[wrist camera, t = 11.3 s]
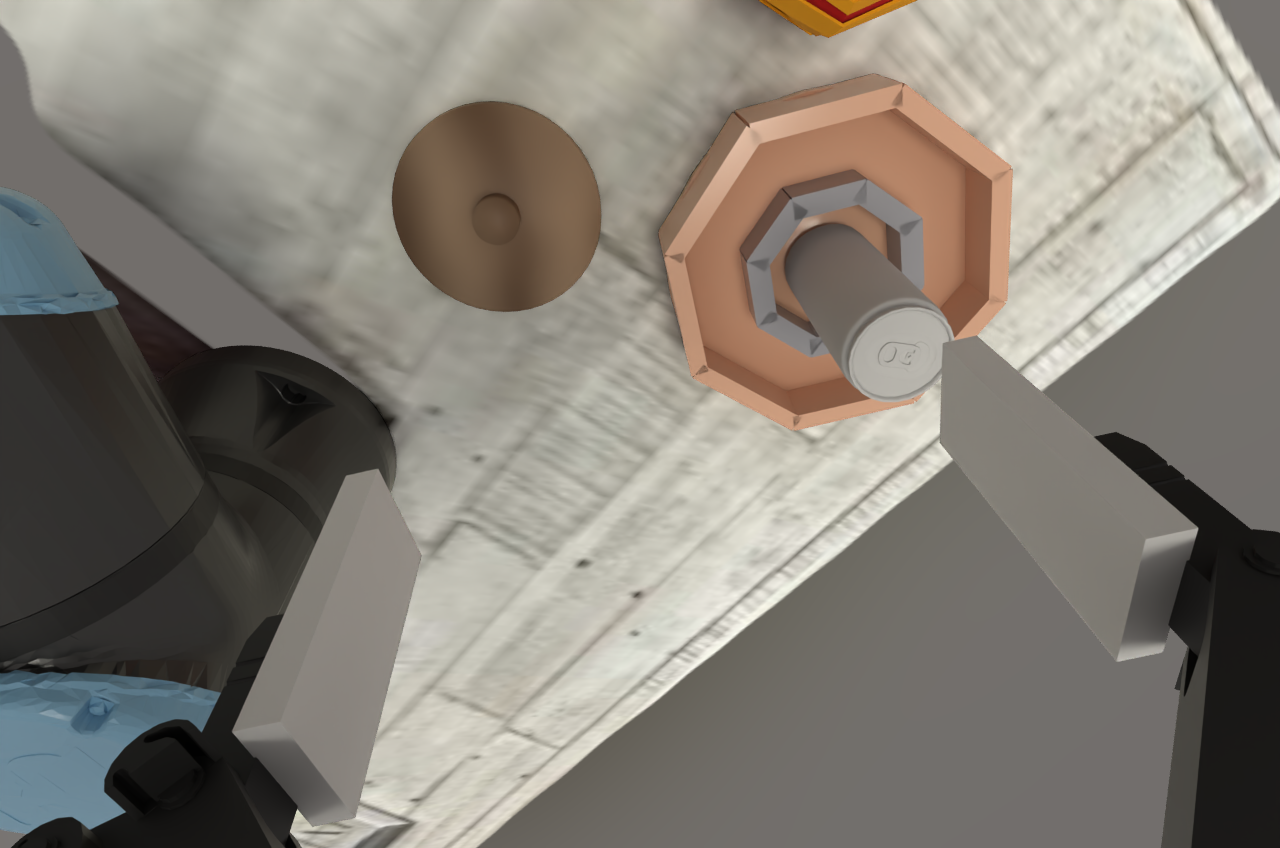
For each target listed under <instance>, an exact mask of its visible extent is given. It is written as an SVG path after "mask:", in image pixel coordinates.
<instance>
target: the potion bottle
mask: <svg viewBox="0 0 1280 848" xmlns="http://www.w3.org/2000/svg"><path fill="white" fill-rule="evenodd" d="M758 1H760V2H761V3H763V4H764V5H766V6H767V7H769V8H770V9H772V10H773V11H775V12H776V13H778V14H779V15H781V16H782V17H784V18H785V19H787V20H788V21H790V22H791V23H793V24H794V25H796V26H797V27H799V28H800V29H802V30H803V31H805V32H806V33H808V34H809V35H812V34H813V35H815V36H819V35H822V36H825V37H828V38H829V37H831V36H834V35H836V34H838V33H841V32H843V31H846V30H848V29H850V28H853V27H855V26H857V25H860V24H862V23H865V22H867V21H869V20H872V19H874V18H877V17H879V16H881V15H884V14H886V13H888V12H891V11H893V10H896V9H898V8H900V7H903V6H905V5H907V4H910V3H912V2H915V1H917V0H758Z"/></svg>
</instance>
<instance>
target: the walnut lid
mask: <svg viewBox="0 0 1280 848" xmlns="http://www.w3.org/2000/svg"><path fill="white" fill-rule="evenodd" d="M392 207H393V216H394V221H395V225H396V229H397V232H398V235H399V238H400V240H401V243H402V245H403V247H404V249H405V251H406V253H407V254H408V256H409V257H410V259H411V260H412V262H413V263H414V265H415V266H416V267H417V268H418V270H419V271H420V272H421V273H422V274H423V276H425V277H426V278H427V279H428V280H429V281H430V282H431V283H432V284H433V285H434V286H436V287H437V288H438V289H440V290H441V291H442V292H444V293H445V294H447V295H449V296H450V297H452V298H454V299H456V300H458V301H460V302H462V303H465V304H467V305H470V306H473V307H476V308H480V309H485V310H490V311H501V312H510V311H521V310H527V309H531V308H534V307H538V306H541V305H543V304H545V303H548V302H550V301H552V300H554V299H555V298H557V297H559V296H560V295H562V294H563V293H564V292H566V291H567V290H568V289H569V288H570V287H572V286H573V285H574V284H575V282H576V281H577V280H578V279H579V278H580V277H581V276H582V274H583V273H584V271H585V270H586V268H587V267H588V265H589V263H590V261H591V259H592V257H593V255H594V252H595V250H596V247H597V244H598V239H599V234H600V227H601V206H600V196H599V191H598V186H597V183H596V180H595V177H594V174H593V171H592V169H591V167H590V165H589V163H588V161H587V159H586V157H585V156H584V154H583V153H582V151H581V150H580V148H579V147H578V146H577V144H576V143H575V142H574V141H573V140H572V138H571V137H570V136H569V135H568V134H567V133H566V132H565V131H563V130H562V129H561V128H560V127H559V126H558V125H556V124H555V123H553V122H552V121H551V120H549V119H548V118H546V117H544V116H542V115H541V114H539V113H537V112H535V111H533V110H530V109H527V108H525V107H522V106H519V105H514V104H510V103H505V102H494V101H489V102H475V103H470V104H465V105H462V106H459V107H456V108H453V109H451V110H449V111H447V112H445V113H443V114H441V115H439V116H438V117H436V118H435V119H434V120H432V121H431V122H430V123H428V124H427V125H426V126H425V127H424V128H423V129H422V130H421V131H420V132H419V133H418V134H417V135H416V136H415V137H414V138H413V140H412V141H411V142H410V144H409V145H408V146H407V148H406V150H405V151H404V153H403V155H402V157H401V159H400V161H399V164H398V167H397V170H396V173H395V178H394V183H393V191H392Z"/></svg>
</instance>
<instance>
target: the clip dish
mask: <svg viewBox="0 0 1280 848" xmlns="http://www.w3.org/2000/svg"><path fill="white" fill-rule="evenodd" d="M1011 167H1012V166H1010V165H1009V164H1008V163H1007V162H1005V161H1004V160H1003V159H1001V158H1000V157H999V156H998V155H996V154H995V153H994V152H992V151H991V150H990V149H989V148H987V147H986V146H985V145H983V144H982V143H981V142H979V141H978V140H977V139H976V138H974V137H973V136H972V135H970V134H969V133H968V132H967V131H965V130H964V129H963V128H961V127H960V126H959V125H958V124H956V123H955V122H954V121H952V120H951V119H950V118H949V117H947V116H946V115H945V114H943V113H942V112H941V111H940V110H938V109H937V108H936V107H934V106H933V105H932V104H931V103H929V102H928V101H927V100H925V99H924V98H923V97H922V96H920V95H919V94H918V93H916V92H915V91H914V90H913V89H911V88H910V87H909V86H907V85H906V84H904V83H901V82H898V81H895V80H892V79H889V78H886V77H883V76H880V75H878V74H870V75H866V76H862V77H858V78H855V79H851V80H847V81H843V82H840V83H836V84H832V85H827V86H821V87H816V88H811V89H806V90H802V91H799V92H796V93H793V94H790V95H787V96H784V97H781V98H779V99H776V100H772V101H768V102H764V103H761V104H757V105H753V106H749V107H746V108H742V109H738V110H735V114H734V113H733V112H732V114H731V115H730V117H729V119H728V120H727V122H726V123H725V125H724V127H723V128H722V130H721V131H720V133H719V135H718V136H717V138H716V139H715V141H714V143H713V144H712V146H711V147H710V149H709V151H708V152H707V153H706V155H705V156H704V157H703V159H702V160H701V162H700V163H699V164H698V166H697V167H696V169H695V170H694V171H693V173H692V175H691V177H690V178H689V180H688V182H687V184H686V186H685V188H684V189H683V191H682V193H681V196H680V197H679V199H678V200H677V202H676V204H675V205H674V207H673V208H672V210H671V212H670V213H669V215H668V216H667V218H666V220H665V221H664V223H663V224H662V226H661V228H660V229H659V233H658V236H659V240H660V244H661V249H662V253H663V258H664V262H665V266H666V271H667V278H668V285H669V291H670V295H671V299H672V303H673V306H674V309H675V312H676V316H677V319H678V323H679V327H680V332H681V336H682V340H683V345H684V349H685V353H686V357H687V361H688V365H689V369H690V373H691V376H693V378H694V379H696V380H697V381H699V382H701V383H703V384H705V385H707V386H709V387H711V388H713V389H714V390H716V391H718V392H720V393H722V394H724V395H726V396H728V397H730V398H731V399H733V400H735V401H737V402H739V403H741V404H743V405H745V406H747V407H749V408H750V409H752V410H754V411H756V412H758V413H760V414H762V415H764V416H766V417H767V418H769V419H771V420H773V421H775V422H777V423H779V424H781V425H783V426H785V427H786V428H788V429H790V430H793V429H794V431H795V430H800V429H804V428H808V427H813V426H817V425H821V424H826V423H830V422H834V421H839V420H843V419H847V418H852V417H856V416H860V415H865V414H869V413H873V412H878V411H882V410H886V409H891V408H895V407H899V406H904V405H908V404H912V403H914V401H916V402H917V401H918V399H919V398H920V397H921V396H922V395H923V394H924V393H925V392H924V393H923V394H921V395H918V396H916V397H914V398H912V399H909V400H904V401H900V402H881V401H877V400H873V399H871V398H869V397H867V396H865V395H864V394H862V393H861V392H860V391H859V390H858V389H856V388H854V386H853V385H852V384H851V383H850V382H849V381H848V380H847V379H846V377H845V376H844V374H843V373H842V371H841V370H840V368H839V366H838V365H837V363H836V362H835V360H834V359H833V357H832V355H831V354H830V352H829V351H828V349H827V348H826V346H825V344H824V343H823V341H822V340H821V338H820V336H819V335H818V333H817V332H816V330H815V328H814V327H813V325H812V323H811V322H810V320H809V318H808V317H807V315H806V313H805V312H804V310H803V308H802V307H801V305H800V303H799V302H798V300H797V298H796V297H795V295H794V294H793V292H792V290H791V289H790V287H789V285H788V282H787V280H786V275H785V265H786V259H787V256H788V254H789V252H790V249H791V248H792V246H793V245H794V244H795V242H796V241H797V240H798V239H799V238H800V237H802V236H803V235H804V234H805V233H807V232H809V231H811V230H813V229H815V228H817V227H821V226H824V225H828V224H843V225H847V226H850V227H852V228H854V229H855V230H857V231H858V232H860V233H861V234H862V235H863V236H864V237H865V238H866V239H867V240H868V241H869V242H870V243H871V244H872V245H873V246H874V247H875V248H876V249H877V250H878V251H880V252H881V253H882V254H883V255H884V256H885V257H886V258H887V259H888V260H889V261H890V262H891V263H892V264H893V265H894V266H895V267H896V268H897V269H898V270H899V271H901V272H902V273H903V274H904V275H905V276H906V277H907V278H908V279H909V280H910V281H911V282H912V283H913V284H914V285H915V286H916V287H917V288H918V289H919V290H920V291H922V292H923V293H924V294H925V295H926V296H927V297H928V298H929V299H930V300H931V301H932V302H933V303H934V304H935V305H936V306H937V307H938V308H939V309H940V310H941V312H942V313H943V314H944V316H945V317H946V318H947V321H948V324H949V325H950V326H951V329H952V332H953V335H954V338H955V340H959V339H963V338H968V337H972V336H977V335H978V334H979V333H980V331H981V330H982V329H983V328H984V327H985V326H986V325H987V324H988V323H989V322H990V321H991V319H992V318H993V317H994V316H995V315H996V314H997V313H998V312H999V311H1000V310H1001V308H1002V307H1003V306H1004V305H1005V304H1006V303H1005V302H1004V301H1007V296H1008V272H1009V248H1010V224H1011V201H1012V177H1013V169H1011Z"/></svg>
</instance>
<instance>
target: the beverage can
mask: <svg viewBox="0 0 1280 848" xmlns="http://www.w3.org/2000/svg"><path fill="white" fill-rule="evenodd" d="M785 275H786V280H787V282H788V285H789V287H790V289H791V290H792V292H793V294H794V295H795V297H796V298H797V300H798V302H799V303H800V305H801V307H802V308H803V310H804V312H805V313H806V315H807V317H808V318H809V320H810V322H811V323H812V325H813V327H814V328H815V330H816V332H817V333H818V335H819V336H820V338H821V340H822V341H823V343H824V344H825V346H826V348H827V349H828V351H829V352H830V354H831V355H832V357H833V359H834V360H835V362H836V363H837V365H838V366H839V368H840V370H841V371H842V373H843V374H844V376H845V377H846V379H847V380H848V381H849V382H850V383H851V384H852V385H853V386H854V388H856V389H858V390H859V391H860V392H861V393H862V394H864V395H865V396H867V397H869V398H871V399H873V400H877V401H881V402H900V401H904V400H909V399H912V398H914V397H916V396H918V395H921V394H923V393H924V392H926V391H927V390H928V389H930V388H931V387H933V386H934V385H935V384H936V383H937V382H938V381H939V380H940V379H941V378H942V344H943V343H945V342H950V341H954V340H955V338H954V335H953V332H952V329H951V326H950V325H949V324H948V321H947V318H946V317H945V316H944V314H943V313H942V312H941V310H940V309H939V308H938V307H937V306H936V305H935V304H934V303H933V302H932V301H931V300H930V299H929V298H928V297H927V296H926V295H925V294H924V293H923V292H922V291H920V290H919V289H918V288H917V287H916V286H915V285H914V284H913V283H912V282H911V281H910V280H909V279H908V278H907V277H906V276H905V275H904V274H903V273H902V272H901V271H899V270H898V269H897V268H896V267H895V266H894V265H893V264H892V263H891V262H890V261H889V260H888V259H887V258H886V257H885V256H884V255H883V254H882V253H881V252H880V251H878V250H877V249H876V248H875V247H874V246H873V245H872V244H871V243H870V242H869V241H868V240H867V239H866V238H865V237H864V236H863V235H862V234H861V233H860V232H858V231H857V230H855V229H854V228H852V227H850V226H847V225H843V224H828V225H824V226H821V227H817V228H815V229H813V230H811V231H809V232H807V233H805V234H804V235H803V236H802V237H800V238H799V239H798V240H797V241H796V242H795V244H794V245H793V246H792V248H791V249H790V252H789V254H788V256H787V259H786V265H785Z"/></svg>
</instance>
